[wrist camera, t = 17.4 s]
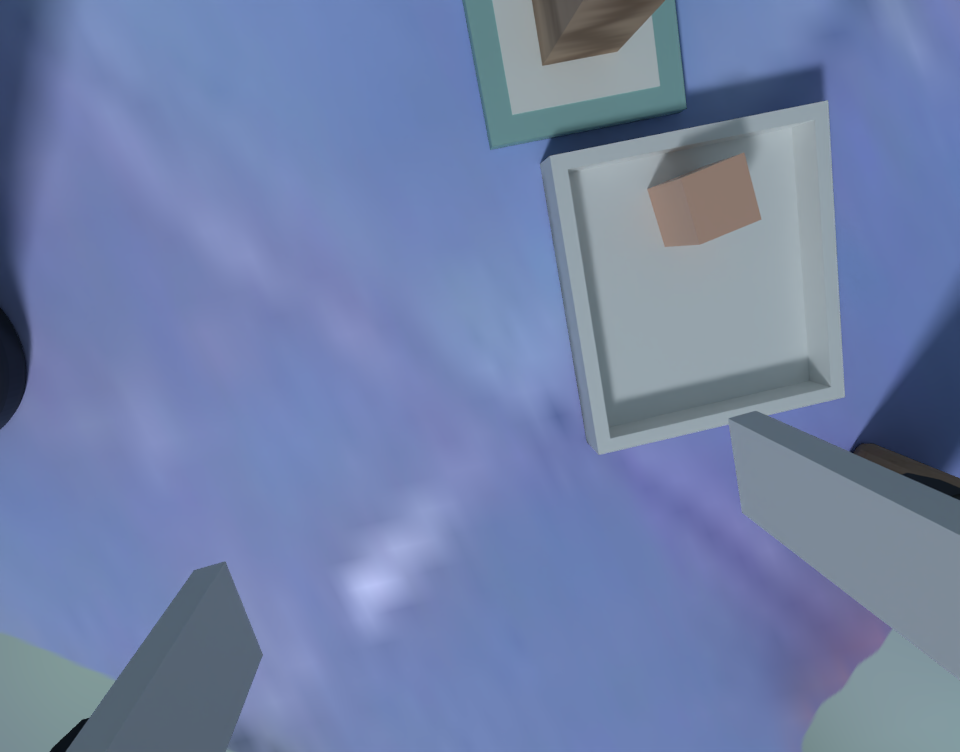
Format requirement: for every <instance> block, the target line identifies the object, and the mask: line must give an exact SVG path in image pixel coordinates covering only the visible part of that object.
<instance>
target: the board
mask: <svg viewBox="0 0 960 752" xmlns="http://www.w3.org/2000/svg"><path fill="white" fill-rule="evenodd" d="M462 1H463V6H464V12H465V17H466V22H467V28H468V33H469V38H470V44H471V49H472V54H473V60H474V65H475V70H476V76H477V81H478V87H479V92H480V97H481V103H482V108H483V113H484V119H485V124H486V129H487V135H488V140H489V145H490V150H492V149H497V148H502V147H507V146H512V145H517V144H522V143H527V142H532V141H538V140H543V139H548V138H553V137H558V136H563V135H568V134H573V133H578V132H583V131H588V130H593V129H598V128H603V127H608V126H613V125H619V124H624V123H629V122H634V121H639V120H644V119H649V118H654V117H659V116H664V115H669V114H674V113H679V112H681V111H683V110H685V109H687V107H686V98H685V89H684V80H683V70H682V61H681V52H680V43H679V34H678V25H677V16H676V7H675V0H665V1H664V2H663V3H662V4H661V6H660V7H659V8H658V9H657V10H656V11H655V12H654V13H653V14H652V15H651V16H650V17H649V18H648V19H647V21H646V22H645V23H644V24H643V25H642V26H641V27H640V28H639V29H638V30H637V31H636V32H635V33H634V34H633V36H632V37H631V38H630V39H629V40H628V41H627V42H626V43H625V44H624V45H623V46H622V47H621V48H620V49H619V51H618V52H613V53H608V54H603V55H597V56H592V57H587V58H581V59H576V60H571V61H566V62H560V63H555V64H550V65H544V66H542V61H541V55H540V48H539V42H538V36H537V30H536V24H535V17H534V11H533V5H532V0H462Z"/></svg>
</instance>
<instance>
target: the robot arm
mask: <svg viewBox="0 0 960 752" xmlns="http://www.w3.org/2000/svg"><path fill="white" fill-rule="evenodd" d="M25 379H26V365H25V358H24V353H23V349H22V345H21V343H20V340H19V337H18V335H17V333H16V331H15V329H14V327H13V325H12V323H11V322H10V320H9V319H8V317H7V316H6V314H5V313H4V312H3V311H2V309H1V308H0V429H1V428H2V427H3V426H4V425H5V424H6V423H7V422H8V421H9V420H10V418H11V417H12V416H13V414H14V413H15V411H16V409H17V407H18V405H19V403H20V401H21V398H22V395H23V391H24V387H25ZM728 421H729V428H730V435H731V441H732V448H733V455H734V461H735V468H736V475H737V481H738V488H739V495H740V501H741V508H742V513H743V514H744V515H746V516H747V517H748V518H750V519H751V520H752V521H754V522H755V523H756V524H757V525H759V526H760V527H761V528H763V529H764V530H765V531H766V532H768V533H769V534H770V535H772V536H773V537H774V538H776V539H777V540H778V541H779V542H781V543H782V544H783V545H785V546H786V547H787V548H789V549H790V550H791V551H792V552H794V553H795V554H796V555H798V556H799V557H800V558H802V559H803V560H804V561H805V562H807V563H808V564H809V565H811V566H812V567H813V568H815V569H816V570H817V571H818V572H820V573H821V574H822V575H824V576H825V577H826V578H828V579H829V580H830V581H831V582H833V583H834V584H835V585H837V586H838V587H839V588H840V589H842V590H843V591H844V592H846V593H847V594H848V595H850V596H851V597H852V598H853V599H855V600H856V601H857V602H859V603H860V604H861V605H863V606H864V607H865V608H866V609H868V610H869V611H870V612H872V613H873V614H874V615H876V616H877V617H878V618H879V619H881V620H882V621H883V622H885V623H886V624H887V625H889V626H890V627H891V628H892V629H894V630H895V631H896V632H898V633H899V634H900V635H902V636H903V637H904V638H905V639H907V640H908V641H909V642H911V643H912V644H913V645H915V646H916V647H917V648H918V649H920V650H921V651H922V652H924V653H925V654H926V655H928V656H929V657H930V658H931V659H933V660H934V661H935V662H937V663H938V664H939V665H940V666H942V667H943V668H945V669H946V670H947V671H948V672H950V673H951V674H952V675H953V676H955V677H956V678H957V679H959V680H960V488H959V487H957V486H954V485H952V484H950V483H947V482H945V481H942V480H940V479H935V478H930V477H926V476H921V475H917V474H912V473H905V474H899V473H896V472H894V471H892V470H889V469H887V468H885V467H883V466H880V465H878V464H876V463H874V462H871V461H869V460H867V459H865V458H862V457H860V456H858V455H855V454H853V453H851V452H849V451H846V450H844V449H842V448H840V447H837V446H835V445H833V444H830V443H828V442H826V441H824V440H821V439H819V438H817V437H815V436H812V435H810V434H808V433H806V432H803V431H801V430H799V429H796V428H794V427H792V426H790V425H787V424H785V423H783V422H781V421H778V420H776V419H774V418H771V417H769V416H767V415H765V414H762V413H760V412H758V411H752V412H749V413H745V414H742V415H738V416H735V417H731V418H728ZM262 656H263V654H262V651H261V649H260V646H259V644H258V642H257V639H256V637H255V634H254V632H253V629H252V627H251V624H250V622H249V619H248V617H247V614H246V612H245V609H244V607H243V604H242V602H241V599H240V597H239V594H238V592H237V589H236V587H235V584H234V582H233V579H232V577H231V574H230V572H229V569H228V567H227V564H226V562H221V563H218V564H214V565H211V566H207V567H204V568H200V569H197V570H194V571H193V573H192V574H191V575H190V577H189V578H188V580H187V581H186V582H185V584H184V585H183V587H182V588H181V590H180V591H179V592H178V594H177V595H176V597H175V598H174V599H173V601H172V602H171V604H170V605H169V606H168V608H167V609H166V611H165V612H164V614H163V615H162V616H161V618H160V619H159V621H158V622H157V623H156V625H155V626H154V628H153V629H152V630H151V632H150V633H149V635H148V636H147V638H146V639H145V640H144V642H143V643H142V645H141V646H140V647H139V649H138V650H137V652H136V653H135V654H134V656H133V657H132V659H131V660H130V662H129V663H128V664H127V666H126V667H125V669H124V670H123V671H122V673H121V674H120V676H119V677H118V678H117V680H116V681H115V683H114V684H113V686H112V687H111V688H110V690H109V691H108V693H107V694H106V695H105V697H104V698H103V700H102V701H101V703H100V704H99V705H98V707H97V708H96V709H95V711H94V712H93V714H92V715H91V717H90V718H87V719H84V720H81V721H80V722H79V724H77V725H76V726H75V727H74V728H73V729H72V730H71V731H70V732H69V733H68V734H67V735H66V736H65V737H63V738H62V739H61V740H60V741H59V742H58V743H57V744H56V745H55V746H54V747H53V748H52V749H51V751H50V752H226V749H227V747H228V744H229V742H230V739H231V736H232V734H233V731H234V729H235V726H236V723H237V721H238V718H239V716H240V713H241V710H242V708H243V705H244V703H245V700H246V697H247V695H248V692H249V689H250V687H251V684H252V682H253V679H254V676H255V674H256V671H257V669H258V666H259V663H260V661H261V658H262Z"/></svg>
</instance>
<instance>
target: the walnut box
mask: <svg viewBox="0 0 960 752" xmlns="http://www.w3.org/2000/svg"><path fill="white" fill-rule="evenodd" d="M664 1H665V0H532V5H533V11H534V17H535V24H536V30H537V36H538V42H539V48H540V55H541V61H542V66H544V65H550V64H555V63H560V62H566V61H571V60H576V59H581V58H587V57H592V56H597V55H603V54H608V53H613V52H618V51H619V49H620V48H621V47H622V46H623V45H624V44H625V43H626V42H627V41H628V40H629V39H630V38H631V37H632V36H633V34H634V33H635V32H636V31H637V30H638V29H639V28H640V27H641V26H642V25H643V24H644V23H645V22H646V21H647V19H648V18H649V17H650V16H651V15H652V14H653V13H654V12H655V11H656V10H657V9H658V8H659V7H660V6H661V4H662V3H663V2H664Z"/></svg>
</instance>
